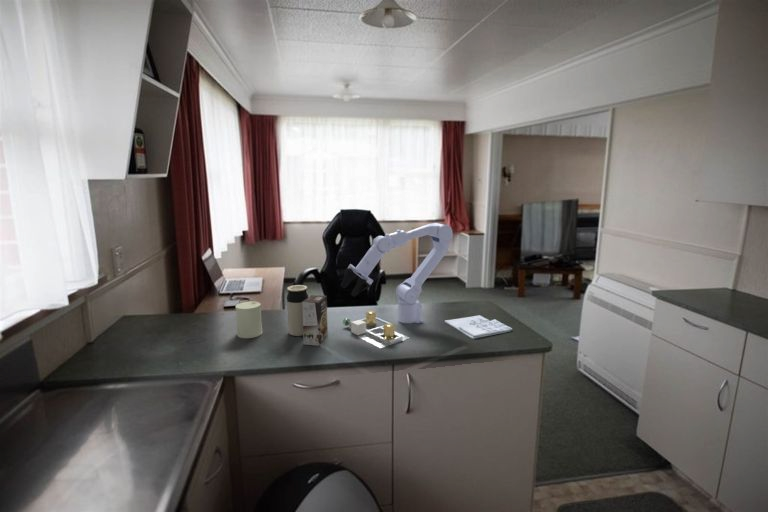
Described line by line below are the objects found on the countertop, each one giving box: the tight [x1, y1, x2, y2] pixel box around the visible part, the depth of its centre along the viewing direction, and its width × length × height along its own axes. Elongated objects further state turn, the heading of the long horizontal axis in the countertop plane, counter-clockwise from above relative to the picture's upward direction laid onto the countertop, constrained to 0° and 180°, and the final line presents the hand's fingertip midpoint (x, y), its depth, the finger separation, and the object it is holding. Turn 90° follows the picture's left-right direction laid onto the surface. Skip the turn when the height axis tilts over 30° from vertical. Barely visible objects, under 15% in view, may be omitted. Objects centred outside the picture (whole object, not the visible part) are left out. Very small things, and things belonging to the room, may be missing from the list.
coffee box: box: [302, 294, 329, 347], centre depth 150 cm, size 9×6×16 cm
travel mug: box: [286, 284, 309, 337], centre depth 158 cm, size 8×8×18 cm
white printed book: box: [444, 314, 513, 340], centre depth 166 cm, size 19×20×2 cm
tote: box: [360, 316, 393, 331], centre depth 165 cm, size 12×12×2 cm
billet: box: [365, 310, 377, 327], centre depth 165 cm, size 4×4×6 cm
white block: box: [350, 319, 367, 336], centre depth 156 cm, size 4×4×5 cm
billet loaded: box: [383, 323, 396, 340], centre depth 149 cm, size 4×4×6 cm
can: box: [235, 300, 264, 339], centre depth 157 cm, size 9×9×12 cm
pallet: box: [358, 326, 410, 349], centre depth 151 cm, size 14×13×3 cm
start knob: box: [342, 317, 352, 327], centre depth 160 cm, size 3×7×3 cm, turn 40°
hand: (347, 291), depth 158 cm, fingers open, 7 cm apart
